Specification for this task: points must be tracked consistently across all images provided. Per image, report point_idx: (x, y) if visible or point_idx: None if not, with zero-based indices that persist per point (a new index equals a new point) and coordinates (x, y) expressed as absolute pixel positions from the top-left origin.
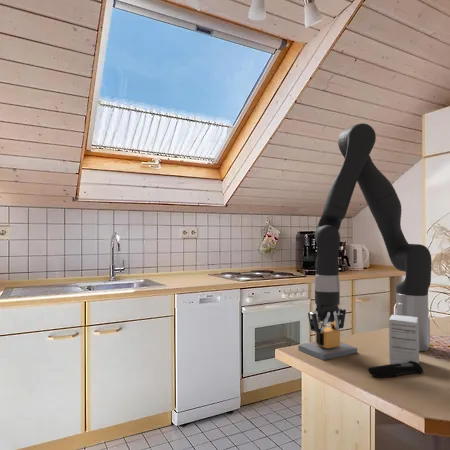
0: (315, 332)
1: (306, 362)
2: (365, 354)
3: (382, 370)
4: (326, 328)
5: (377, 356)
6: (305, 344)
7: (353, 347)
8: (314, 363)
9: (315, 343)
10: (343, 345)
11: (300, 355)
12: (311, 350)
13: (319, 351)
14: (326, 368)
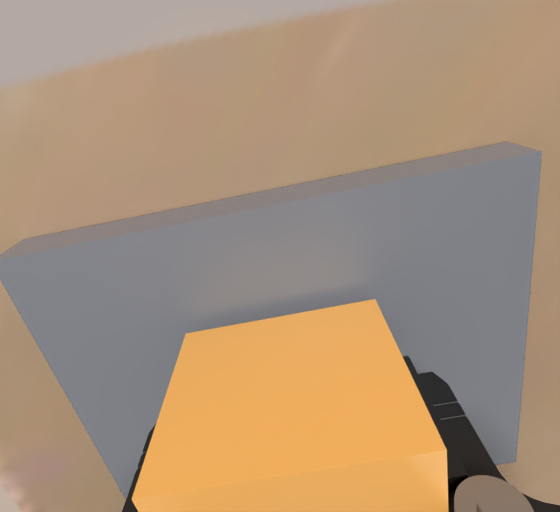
0: (149, 447)
1: (15, 487)
2: (517, 459)
3: None
4: (366, 496)
5: (551, 499)
6: (87, 263)
7: (496, 448)
8: (66, 508)
9: (225, 261)
10: (463, 389)
11: (6, 371)
12: (85, 426)
13: None
14: None
